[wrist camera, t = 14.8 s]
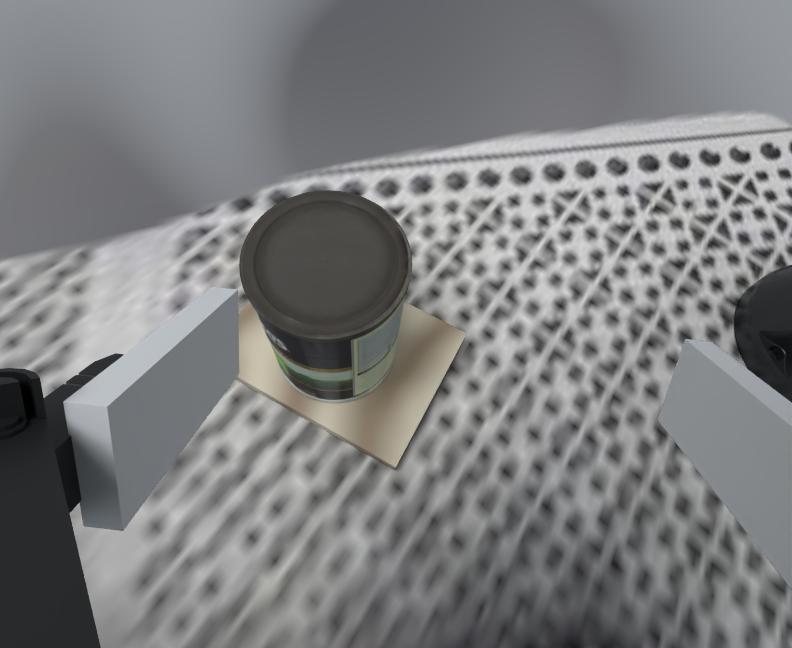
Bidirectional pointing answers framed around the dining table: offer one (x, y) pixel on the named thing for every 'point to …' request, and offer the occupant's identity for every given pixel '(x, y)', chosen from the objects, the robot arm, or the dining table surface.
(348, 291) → the coffee can
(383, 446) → the plain beige board
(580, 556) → the dining table surface
